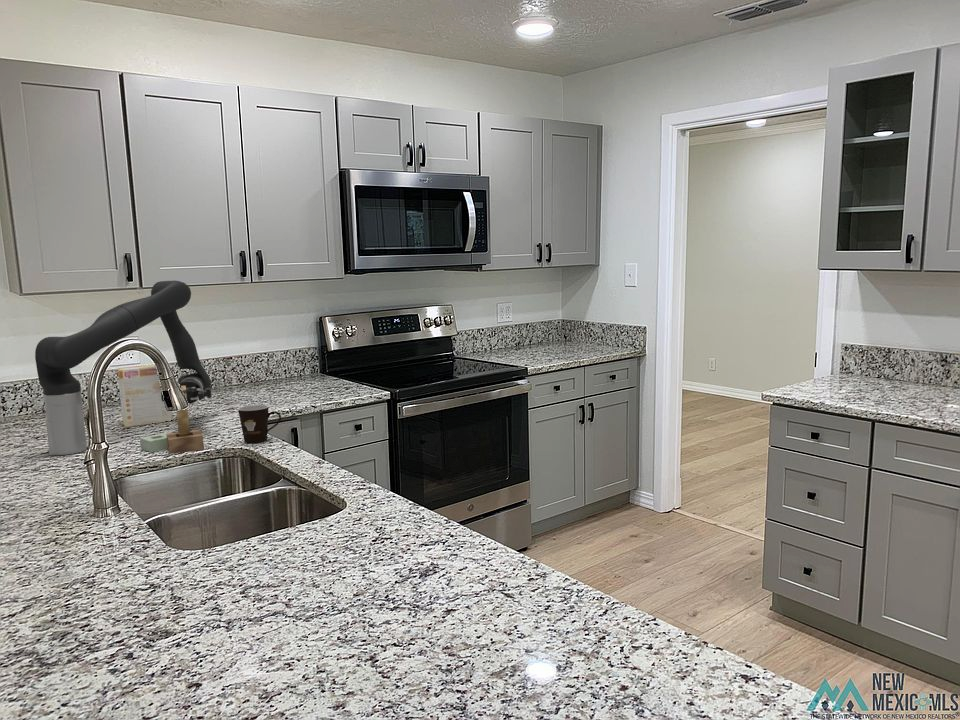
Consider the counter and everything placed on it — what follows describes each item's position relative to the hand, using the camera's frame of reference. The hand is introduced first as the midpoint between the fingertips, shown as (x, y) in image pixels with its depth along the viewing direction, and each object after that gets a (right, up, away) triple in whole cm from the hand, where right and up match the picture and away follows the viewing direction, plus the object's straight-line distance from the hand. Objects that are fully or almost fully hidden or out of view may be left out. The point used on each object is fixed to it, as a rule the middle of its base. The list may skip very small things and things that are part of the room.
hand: (184, 397), depth 215 cm
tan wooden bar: (+4, -14, -9) cm, 17 cm away
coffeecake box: (-25, -10, +30) cm, 40 cm away
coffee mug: (+24, -13, -3) cm, 27 cm away
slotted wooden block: (+4, -14, -9) cm, 17 cm away
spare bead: (-5, -14, -8) cm, 17 cm away
